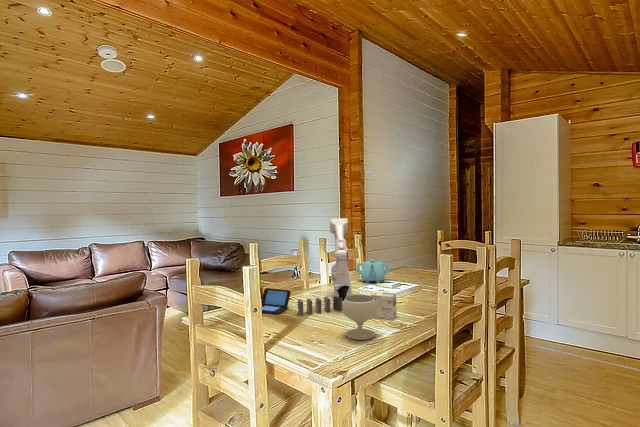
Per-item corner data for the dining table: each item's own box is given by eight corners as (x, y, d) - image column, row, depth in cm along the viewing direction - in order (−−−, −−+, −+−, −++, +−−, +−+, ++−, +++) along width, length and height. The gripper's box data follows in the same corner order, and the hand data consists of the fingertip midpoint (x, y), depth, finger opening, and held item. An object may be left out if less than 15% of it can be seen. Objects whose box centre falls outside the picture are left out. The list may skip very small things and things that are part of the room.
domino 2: (310, 311, 184) (309, 298, 184) (312, 314, 180) (312, 300, 179) (307, 312, 183) (306, 298, 183) (309, 314, 179) (308, 301, 179)
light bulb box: (396, 315, 175) (396, 292, 174) (393, 320, 168) (393, 296, 168) (374, 313, 179) (374, 290, 179) (370, 317, 173) (370, 294, 172)
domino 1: (301, 312, 183) (300, 299, 182) (303, 315, 178) (302, 301, 178) (298, 313, 182) (297, 299, 182) (300, 315, 178) (299, 302, 178)
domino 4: (327, 309, 186) (327, 296, 186) (330, 312, 182) (330, 299, 182) (324, 310, 186) (324, 297, 186) (327, 312, 182) (326, 299, 181)
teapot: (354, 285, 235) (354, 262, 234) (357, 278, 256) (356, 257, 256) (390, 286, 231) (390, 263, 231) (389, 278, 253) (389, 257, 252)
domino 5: (335, 308, 187) (334, 295, 187) (342, 310, 185) (342, 297, 184) (333, 309, 186) (332, 296, 186) (340, 311, 184) (340, 298, 183)
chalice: (353, 344, 142) (352, 305, 141) (337, 332, 155) (336, 296, 154) (384, 337, 148) (383, 300, 147) (366, 326, 160) (365, 292, 160)
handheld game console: (251, 312, 186) (250, 293, 186) (265, 305, 198) (264, 287, 198) (278, 315, 180) (278, 296, 179) (291, 307, 192) (291, 289, 192)
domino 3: (319, 310, 185) (318, 297, 185) (321, 313, 181) (321, 299, 181) (315, 311, 185) (315, 298, 184) (318, 313, 180) (317, 300, 180)
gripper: (341, 270, 194) (342, 296, 194) (328, 275, 181) (328, 303, 182) (353, 271, 190) (354, 298, 191) (341, 277, 178) (341, 305, 178)
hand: (342, 300), depth 186 cm, fingers closed
